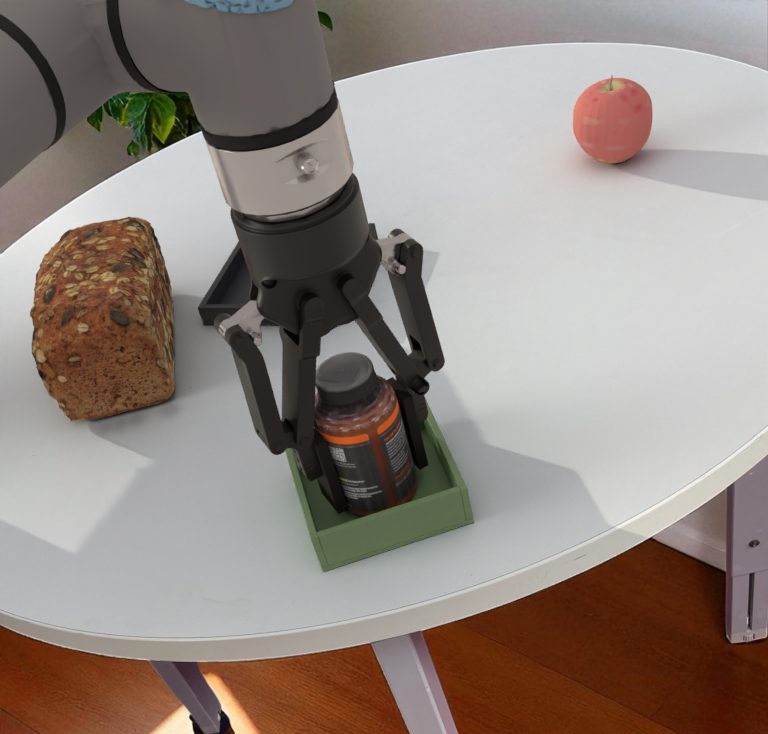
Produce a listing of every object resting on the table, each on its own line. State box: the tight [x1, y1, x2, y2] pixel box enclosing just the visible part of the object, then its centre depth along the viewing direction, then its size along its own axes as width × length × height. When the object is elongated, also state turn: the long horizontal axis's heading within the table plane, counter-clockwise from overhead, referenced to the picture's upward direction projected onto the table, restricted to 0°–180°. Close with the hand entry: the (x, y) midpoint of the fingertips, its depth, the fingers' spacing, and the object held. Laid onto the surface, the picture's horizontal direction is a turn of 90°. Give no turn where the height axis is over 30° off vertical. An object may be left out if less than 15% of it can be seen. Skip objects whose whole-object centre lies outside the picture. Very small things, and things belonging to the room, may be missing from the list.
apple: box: [572, 75, 653, 164], centre depth 101 cm, size 7×7×8 cm
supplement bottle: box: [314, 351, 417, 517], centre depth 73 cm, size 6×6×11 cm
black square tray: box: [197, 222, 379, 326], centre depth 99 cm, size 13×13×2 cm
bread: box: [29, 216, 176, 422], centre depth 93 cm, size 19×11×10 cm, turn 9°
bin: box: [284, 397, 475, 573], centre depth 76 cm, size 11×11×3 cm
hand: (374, 478), depth 76 cm, fingers closed on supplement bottle, 6 cm apart
